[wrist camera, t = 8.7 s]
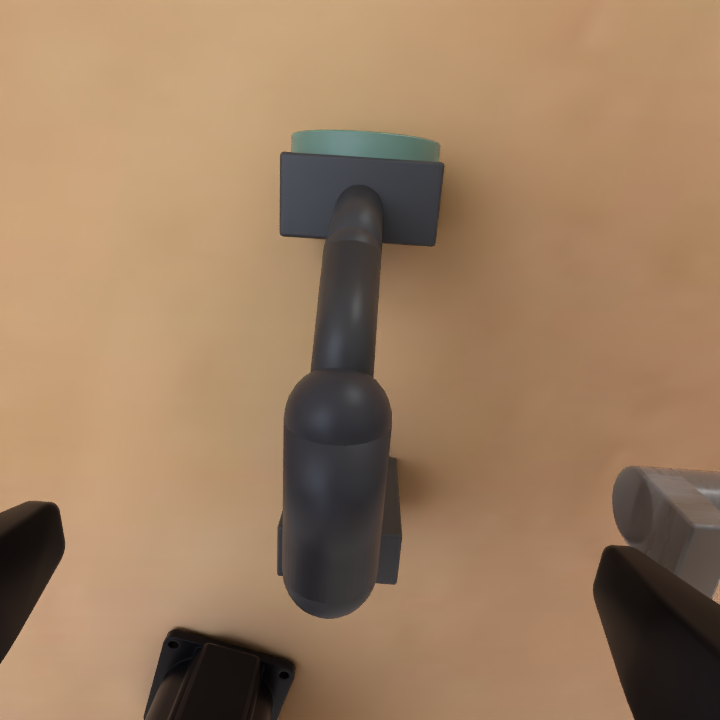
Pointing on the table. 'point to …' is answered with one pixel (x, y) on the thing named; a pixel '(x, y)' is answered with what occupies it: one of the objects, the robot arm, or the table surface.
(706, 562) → the hook stand
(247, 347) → the table surface
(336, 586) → the headphones
